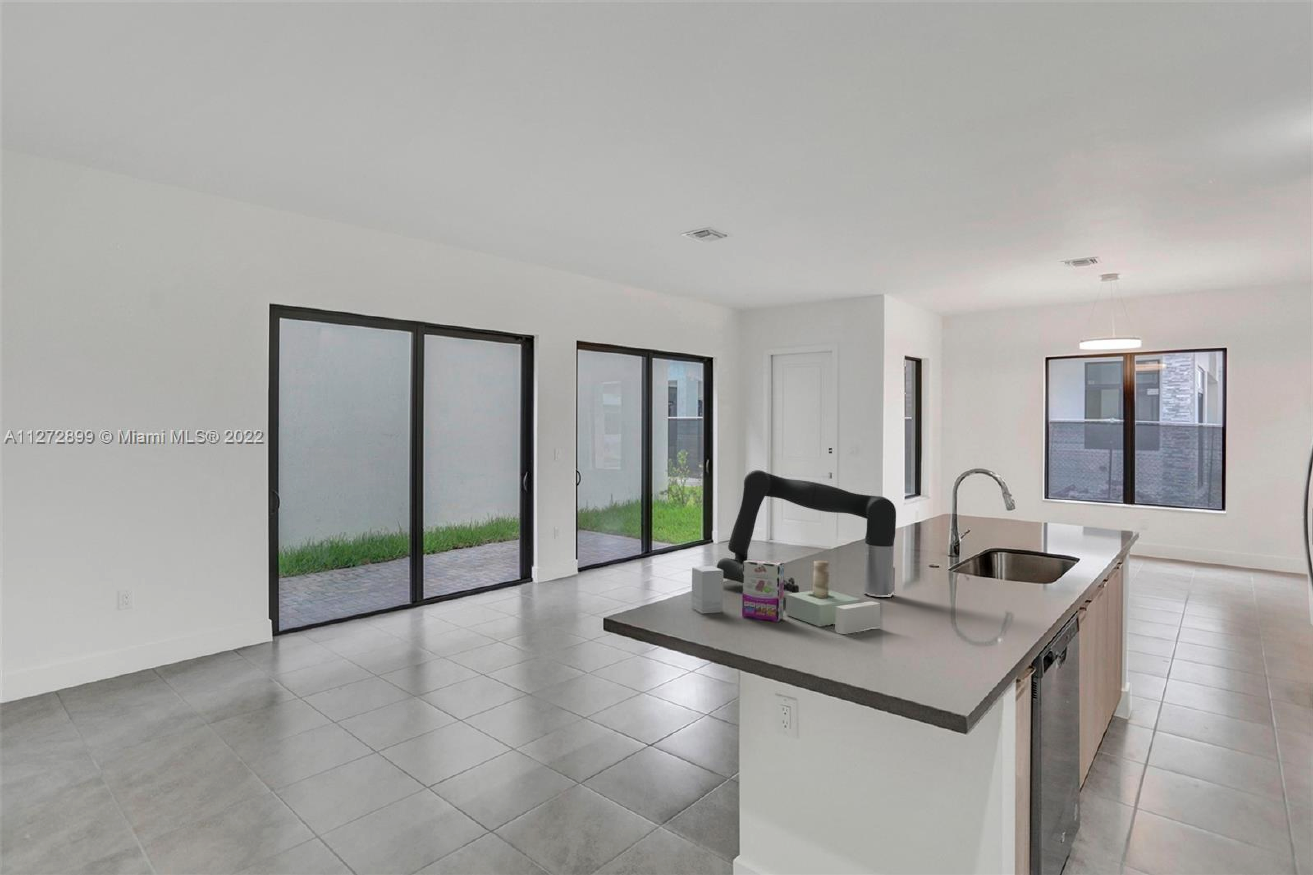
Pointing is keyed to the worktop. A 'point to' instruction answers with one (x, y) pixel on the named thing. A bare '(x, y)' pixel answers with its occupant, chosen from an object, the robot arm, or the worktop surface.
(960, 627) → the worktop surface
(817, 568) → the birch dowel
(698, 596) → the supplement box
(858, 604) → the backstop board
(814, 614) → the socket block
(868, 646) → the worktop surface
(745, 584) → the candy bar box
